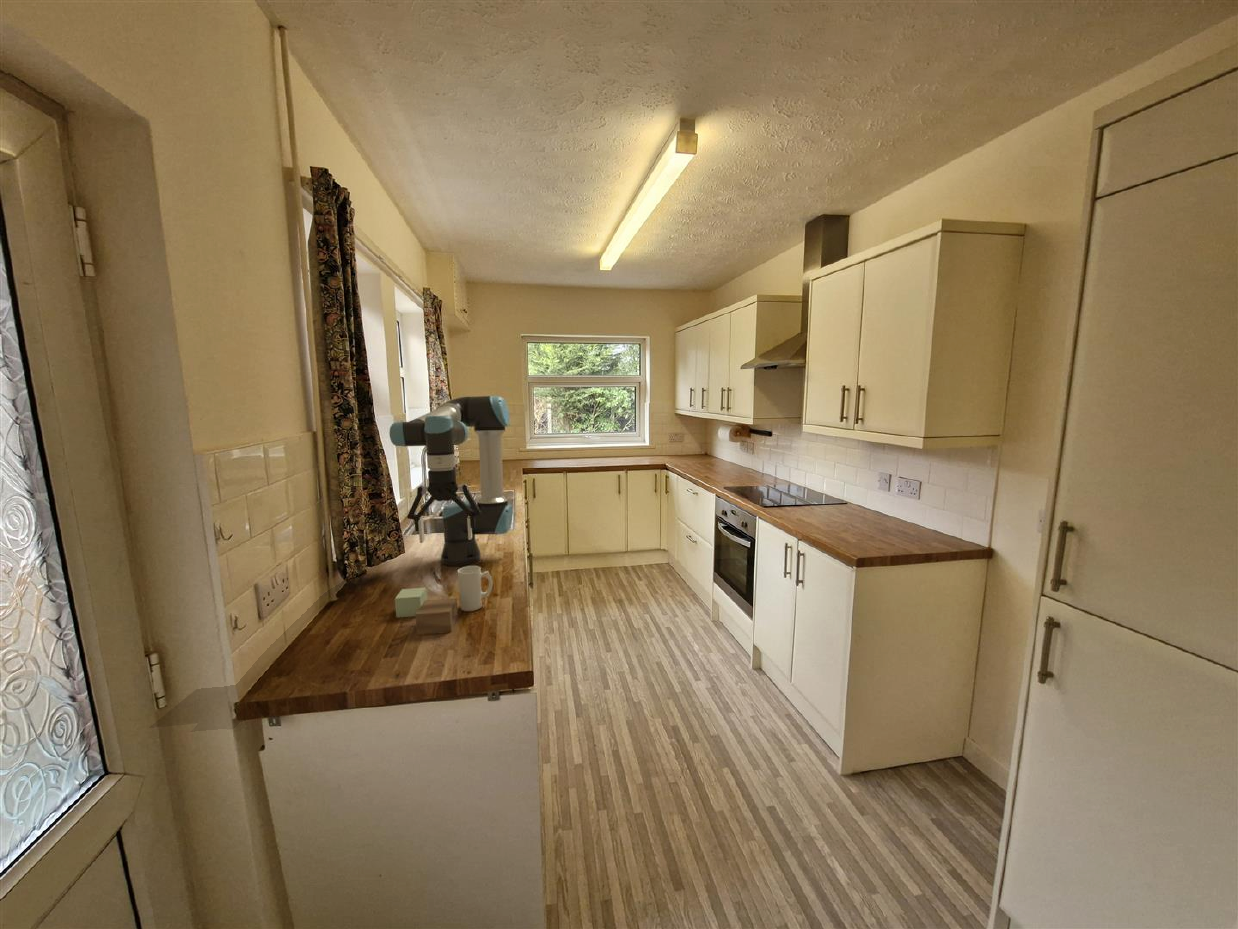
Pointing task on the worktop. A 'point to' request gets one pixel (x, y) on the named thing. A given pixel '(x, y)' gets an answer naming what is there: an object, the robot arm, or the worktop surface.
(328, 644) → the worktop surface
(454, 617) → the base brick
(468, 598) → the mug
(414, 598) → the sage brick
